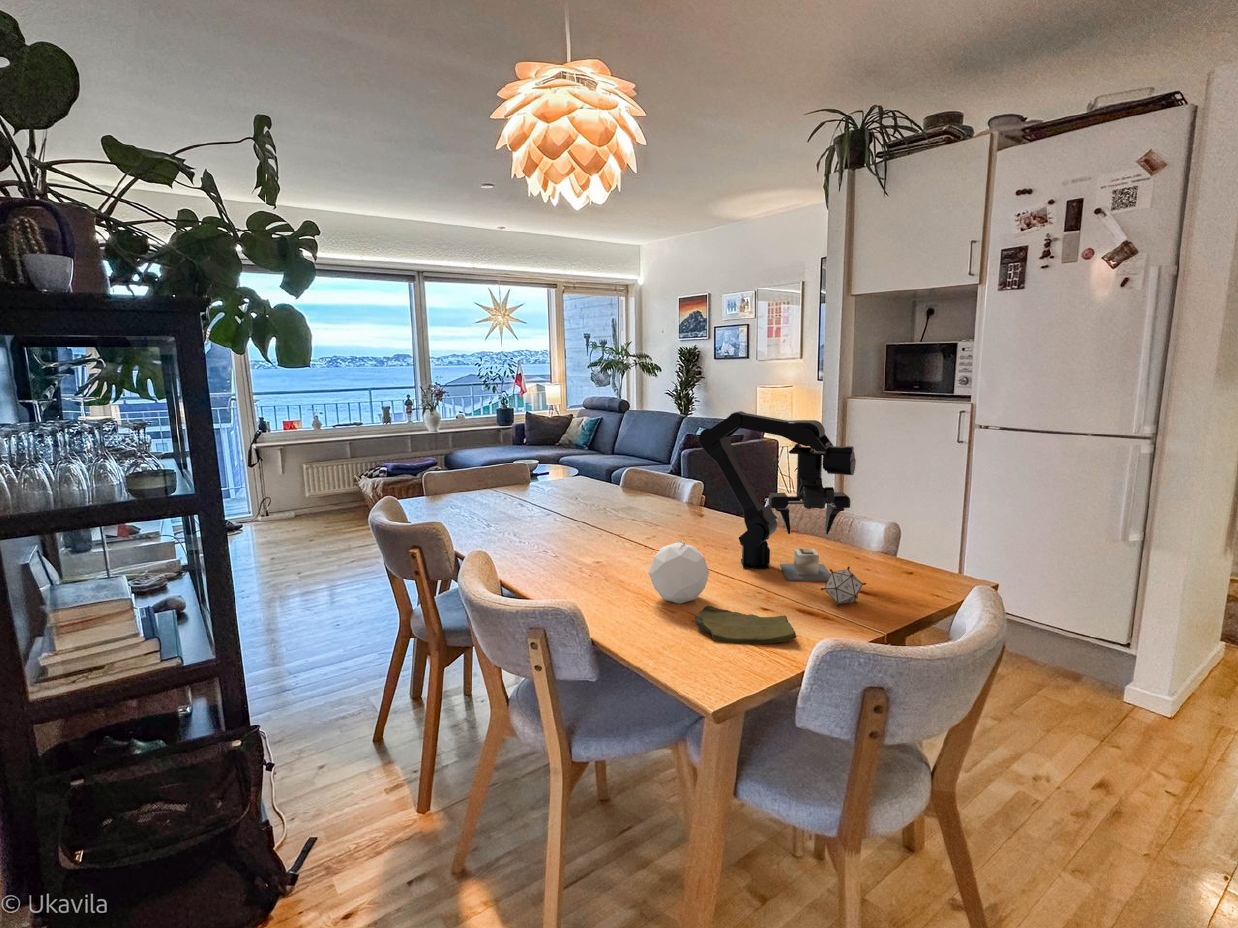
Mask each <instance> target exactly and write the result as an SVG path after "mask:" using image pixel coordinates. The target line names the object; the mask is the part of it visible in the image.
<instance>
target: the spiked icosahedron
mask: <svg viewBox="0 0 1238 928" xmlns="http://www.w3.org/2000/svg"><path fill="white" fill-rule="evenodd" d="M850 568H851V567H850V565H848V566H847V568H846V569H843V570H835V571H833V569H831V568H829V573H830V574H831V575H830V577H829V579H828V581H826V584H825V585H824V587H821V588H820V590H821V591H825V592H826V593H827V594H828V595H829V596H830V597H831V598H832V600H834V601H835V602H836V608H839V607H840V604H847V603H852V602H853V603H854V604H855V605H858V601H856V599H859V597H858V595H859V594H860V591H861V589H862V587H863V586H866V585H867V583H866V582H861V580H860V579H859V578H858V577H857V576H856V575H855V574H854V573H853V572H852V571H851V570H850Z"/></svg>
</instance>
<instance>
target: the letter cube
mask: <svg viewBox="0 0 1238 928" xmlns="http://www.w3.org/2000/svg"><path fill="white" fill-rule="evenodd" d="M793 553H794V554H793V564H794V569H795V571H796V572H797V574H811V575H818V569H819V564H820V563H819V562H820V561H819V560H820V555H819V553H818V551H817V550H816V549H815V548H794V550H793Z"/></svg>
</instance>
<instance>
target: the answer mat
mask: <svg viewBox="0 0 1238 928" xmlns="http://www.w3.org/2000/svg"><path fill="white" fill-rule="evenodd" d="M779 567H780V568H781V571H782V572H783V575H784V576H785V578H786V579H785V580H786V581H788V582H827V581H828V579H829V577H830V575H831V572H830V570H828V568H827V567H826V566H825V564H823V563H819V569H818V575H811V574H797V572H796V571H795V569H794V563H780V564H779Z"/></svg>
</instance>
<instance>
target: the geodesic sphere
mask: <svg viewBox="0 0 1238 928" xmlns="http://www.w3.org/2000/svg"><path fill="white" fill-rule="evenodd" d="M678 541H679V542H675V543H671V544H668V545H664V546H662V547H661V548H660V549H659V550H658V552H657V553H656V554H655V555H654V557H653V560H652V562H651V565H650V569H649V571H648V575H649V577H650V581H651V582H652V583H651V584H652V586H653V589H655V591H656V593H658V595H659V596H660V597H661V598H662V600H665V601H667V602H668V601H669V602H672V603H674V604H675V603H676V604H679V605H680V604H683V603H687V602H690V601H694V600H697V598H698V597H699V596H700V595H701V593H702V592H703V591H704V590H705V589H706V586H707V582H708V579H709V574H710V571H709V567H708V565H707V562H706V559H705V557H704V555H703V554H702V553H701V552H700V551H699V549H697V548H696V547H695V546H694V545H690V544H686V542H685V541H684V540H682V539H681V540H678Z"/></svg>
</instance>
